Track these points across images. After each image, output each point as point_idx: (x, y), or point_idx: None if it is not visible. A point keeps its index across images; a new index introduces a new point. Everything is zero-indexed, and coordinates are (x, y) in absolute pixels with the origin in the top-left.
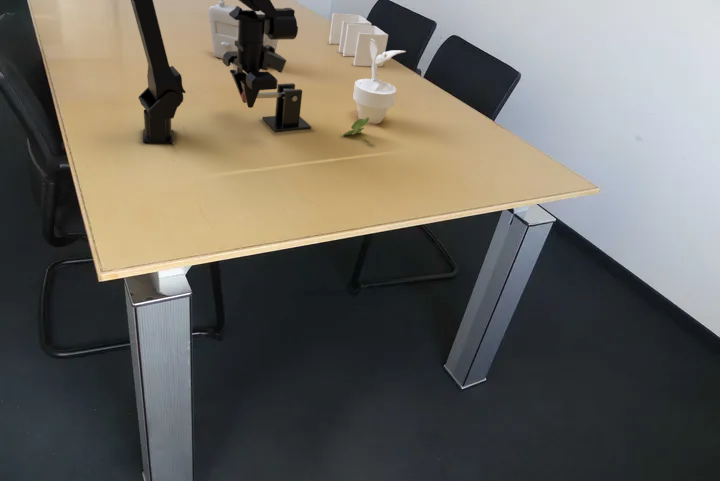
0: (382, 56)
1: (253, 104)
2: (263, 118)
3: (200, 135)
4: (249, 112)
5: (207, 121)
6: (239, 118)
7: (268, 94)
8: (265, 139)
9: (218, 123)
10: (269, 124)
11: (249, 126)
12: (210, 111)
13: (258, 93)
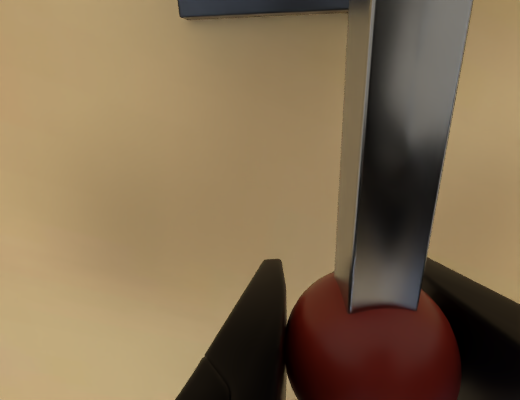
0: None
1: (445, 271)
2: (203, 17)
3: None
4: (21, 60)
5: (173, 325)
6: (134, 165)
7: (463, 43)
8: (463, 113)
9: (200, 288)
10: (320, 11)
11: (261, 144)
12: (40, 286)
13: (391, 235)
